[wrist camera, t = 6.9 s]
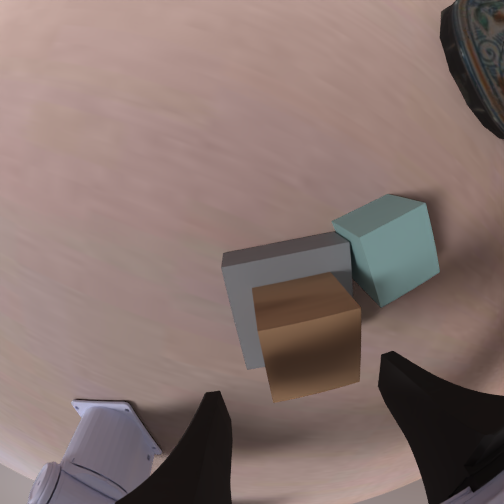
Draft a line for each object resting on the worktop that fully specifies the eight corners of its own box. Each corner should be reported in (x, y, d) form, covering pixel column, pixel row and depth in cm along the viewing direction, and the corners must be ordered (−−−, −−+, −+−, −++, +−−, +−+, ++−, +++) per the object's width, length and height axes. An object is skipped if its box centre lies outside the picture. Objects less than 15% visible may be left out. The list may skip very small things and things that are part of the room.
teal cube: (403, 251, 21) (439, 271, 16) (352, 278, 21) (380, 307, 16) (387, 193, 19) (425, 202, 15) (331, 221, 20) (359, 237, 15)
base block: (341, 325, 22) (353, 345, 19) (245, 346, 22) (247, 369, 19) (334, 231, 20) (349, 241, 17) (223, 253, 20) (221, 267, 17)
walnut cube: (334, 336, 19) (359, 381, 14) (265, 351, 19) (273, 402, 14) (330, 271, 17) (361, 307, 13) (251, 287, 17) (257, 331, 13)
